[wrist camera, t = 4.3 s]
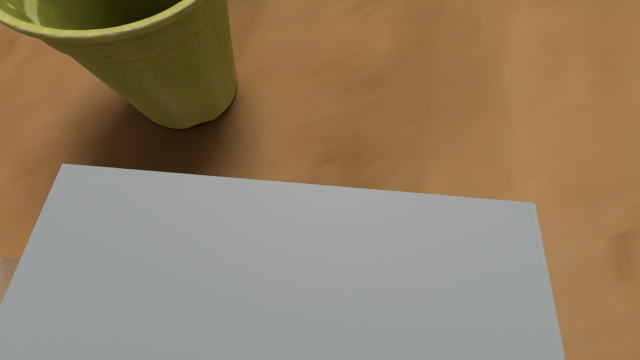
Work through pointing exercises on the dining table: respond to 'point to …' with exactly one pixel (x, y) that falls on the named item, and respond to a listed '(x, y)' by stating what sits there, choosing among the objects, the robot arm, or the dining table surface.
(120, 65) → the plant pot
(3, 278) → the birch base
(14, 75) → the dining table surface
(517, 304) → the slate post
